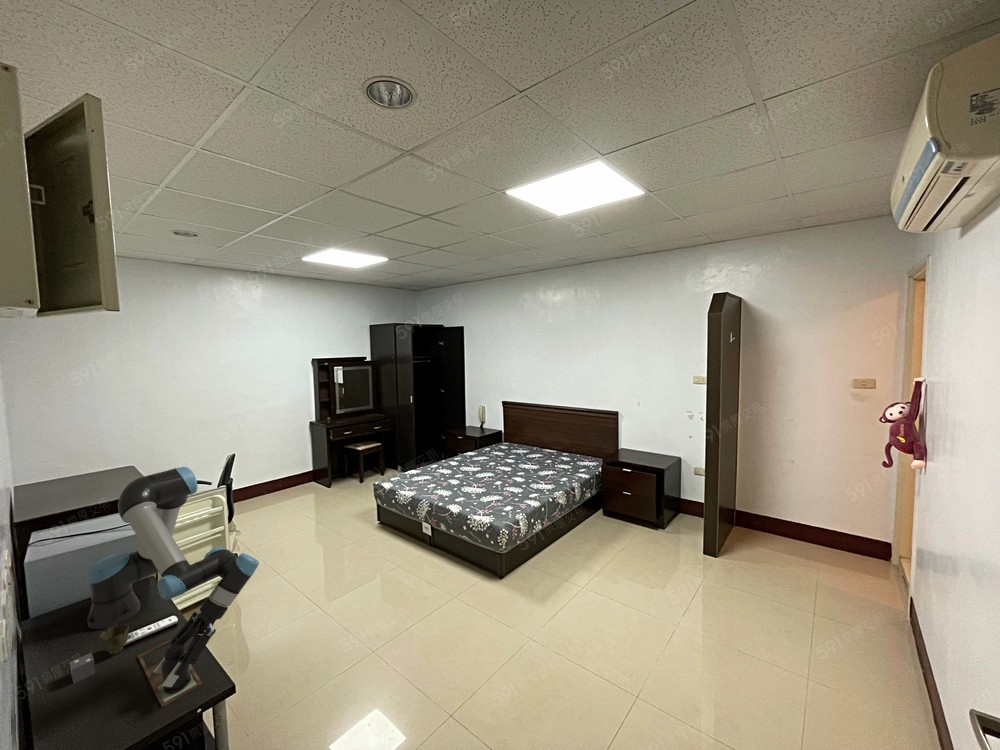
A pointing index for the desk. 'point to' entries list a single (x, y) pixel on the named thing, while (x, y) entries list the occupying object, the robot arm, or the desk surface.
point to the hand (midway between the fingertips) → (162, 679)
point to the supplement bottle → (169, 664)
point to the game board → (157, 680)
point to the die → (82, 668)
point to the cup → (114, 638)
